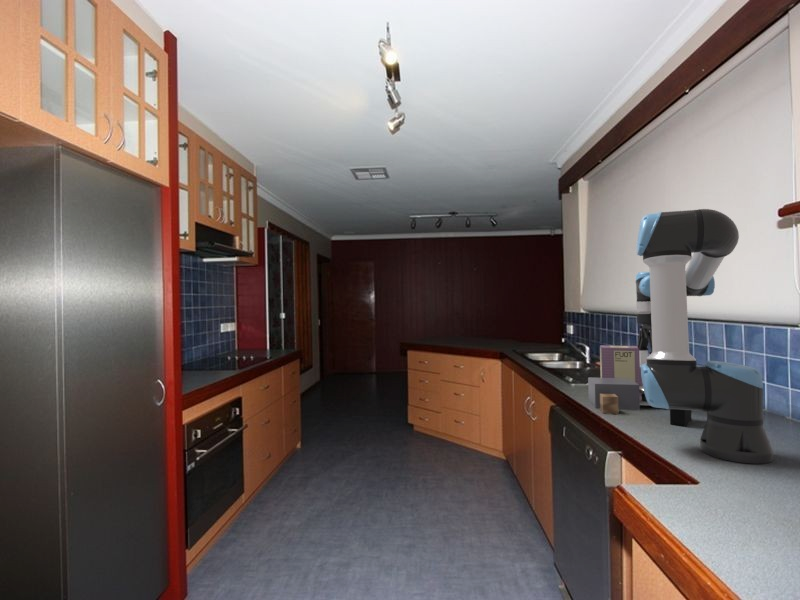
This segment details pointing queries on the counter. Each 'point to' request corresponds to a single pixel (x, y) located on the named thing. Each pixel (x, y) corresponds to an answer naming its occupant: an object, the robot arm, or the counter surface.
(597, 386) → the housing
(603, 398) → the wooden block
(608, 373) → the box
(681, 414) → the electronic device
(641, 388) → the disc
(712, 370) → the robot arm
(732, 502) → the counter surface
